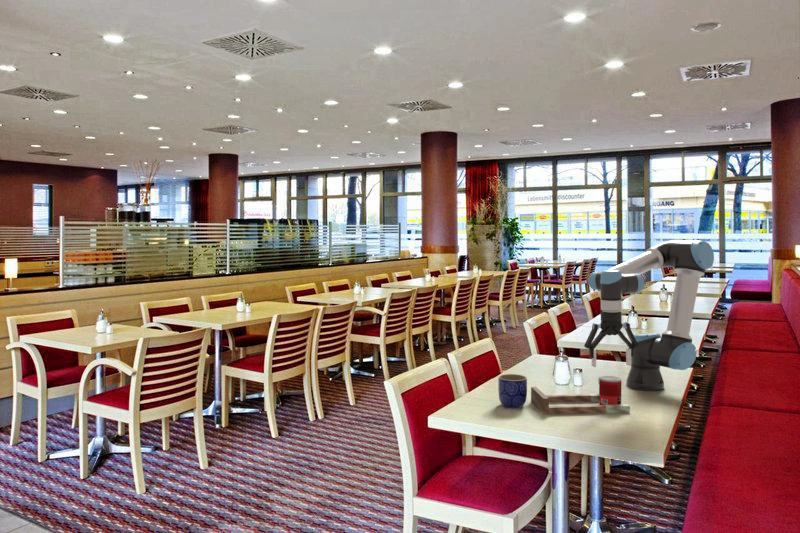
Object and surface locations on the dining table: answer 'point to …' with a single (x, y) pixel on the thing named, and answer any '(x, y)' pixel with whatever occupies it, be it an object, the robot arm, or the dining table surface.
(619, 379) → the canned food
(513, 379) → the planter
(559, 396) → the bay
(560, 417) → the dining table surface
